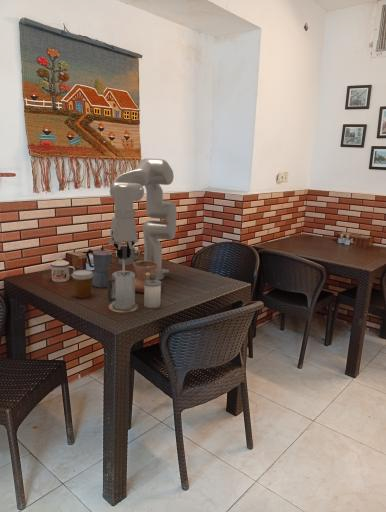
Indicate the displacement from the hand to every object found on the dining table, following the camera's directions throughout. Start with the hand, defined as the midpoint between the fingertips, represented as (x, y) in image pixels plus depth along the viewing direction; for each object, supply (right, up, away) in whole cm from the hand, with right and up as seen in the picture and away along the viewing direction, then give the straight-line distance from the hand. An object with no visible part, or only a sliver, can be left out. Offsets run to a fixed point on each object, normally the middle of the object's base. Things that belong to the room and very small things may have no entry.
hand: (123, 257), depth 168 cm
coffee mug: (-10, -4, +78) cm, 78 cm away
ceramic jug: (+5, -17, +30) cm, 35 cm away
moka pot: (-18, -14, +34) cm, 41 cm away
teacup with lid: (-38, -12, +40) cm, 56 cm away
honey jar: (-22, -19, +17) cm, 33 cm away
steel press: (-2, -22, +5) cm, 22 cm away
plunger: (-1, -13, +3) cm, 13 cm away
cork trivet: (-1, -22, +6) cm, 23 cm away
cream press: (+11, -22, +9) cm, 26 cm away
